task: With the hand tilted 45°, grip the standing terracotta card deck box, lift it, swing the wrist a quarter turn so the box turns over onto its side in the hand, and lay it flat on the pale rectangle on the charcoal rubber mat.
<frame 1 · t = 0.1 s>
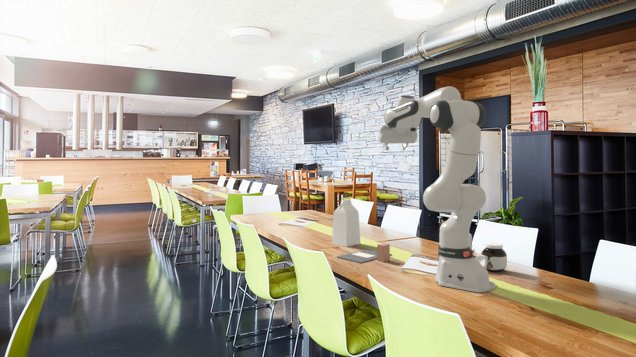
hand: (394, 149, 212), 54 cm above the table, tool tilted 30°, fingers open, 8 cm apart
spread jar: (489, 271, 175), on the table
photo printer: (461, 255, 205), on the table
charcoal mat: (364, 256, 202), on the table
milk: (346, 244, 234), on the table
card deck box: (383, 260, 194), on the table
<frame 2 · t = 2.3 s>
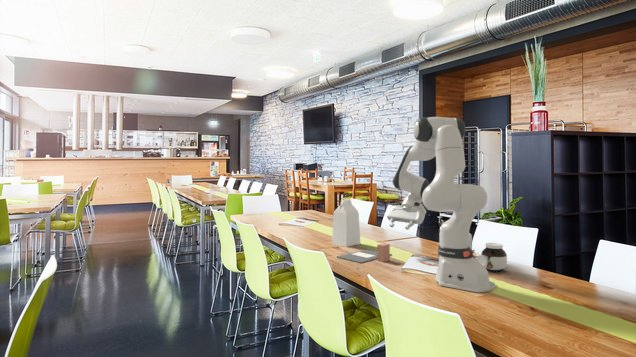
hand: (398, 227, 201), 15 cm above the table, tool tilted 45°, fingers open, 8 cm apart
nothing on the table moved.
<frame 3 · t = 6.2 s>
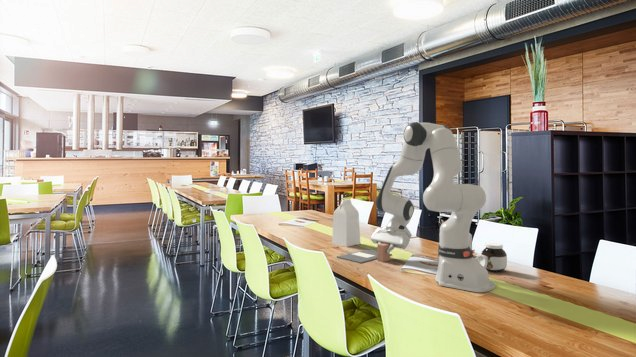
hand: (382, 251, 193), 4 cm above the table, tool tilted 45°, fingers closed on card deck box, 3 cm apart
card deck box: (383, 260, 194), on the table, touching gripper
everything else where it was.
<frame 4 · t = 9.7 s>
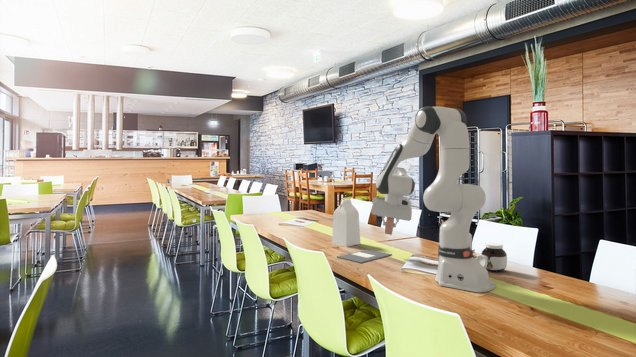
hand: (389, 226, 202), 15 cm above the table, tool pointing down, fingers closed on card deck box, 3 cm apart
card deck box: (389, 230, 205), point 13 cm above the table, tilted 45°, touching gripper
everything else where it was.
when the fingers open (5 cm above the table, at t = 14.0 s): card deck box drops 2 cm, resting on charcoal mat.
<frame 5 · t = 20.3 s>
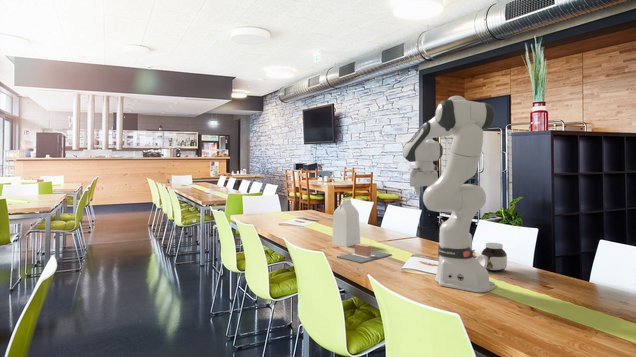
hand: (423, 195, 201), 31 cm above the table, tool pointing down, fingers open, 8 cm apart
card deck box: (356, 248, 206), point 3 cm above the table, tilted 90°, touching charcoal mat
everything else where it was.
at the end: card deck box tilted 90°; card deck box inside the target area on the charcoal mat (0.3 cm from its centre), point 3.1 cm above the charcoal mat's base; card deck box touching charcoal mat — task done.
